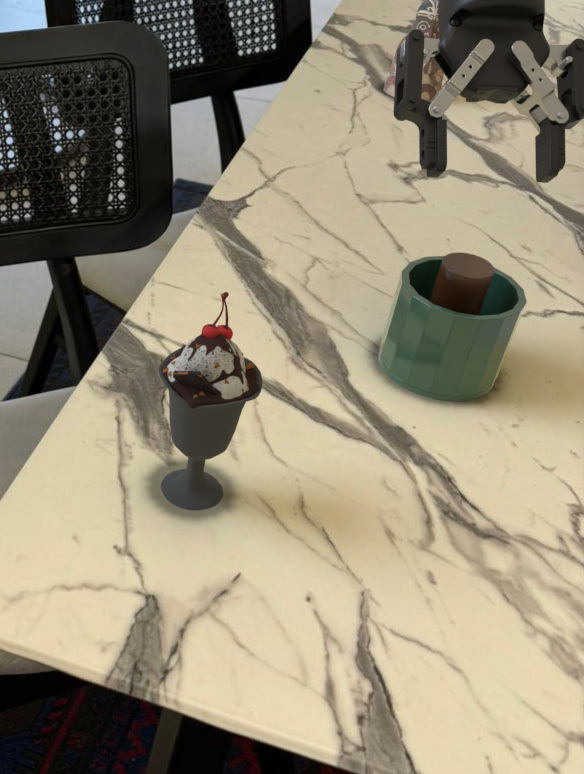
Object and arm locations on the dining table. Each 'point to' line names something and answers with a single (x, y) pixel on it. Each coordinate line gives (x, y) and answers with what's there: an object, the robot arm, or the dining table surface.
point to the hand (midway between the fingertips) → (492, 176)
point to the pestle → (462, 283)
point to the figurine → (431, 72)
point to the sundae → (205, 408)
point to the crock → (448, 336)
